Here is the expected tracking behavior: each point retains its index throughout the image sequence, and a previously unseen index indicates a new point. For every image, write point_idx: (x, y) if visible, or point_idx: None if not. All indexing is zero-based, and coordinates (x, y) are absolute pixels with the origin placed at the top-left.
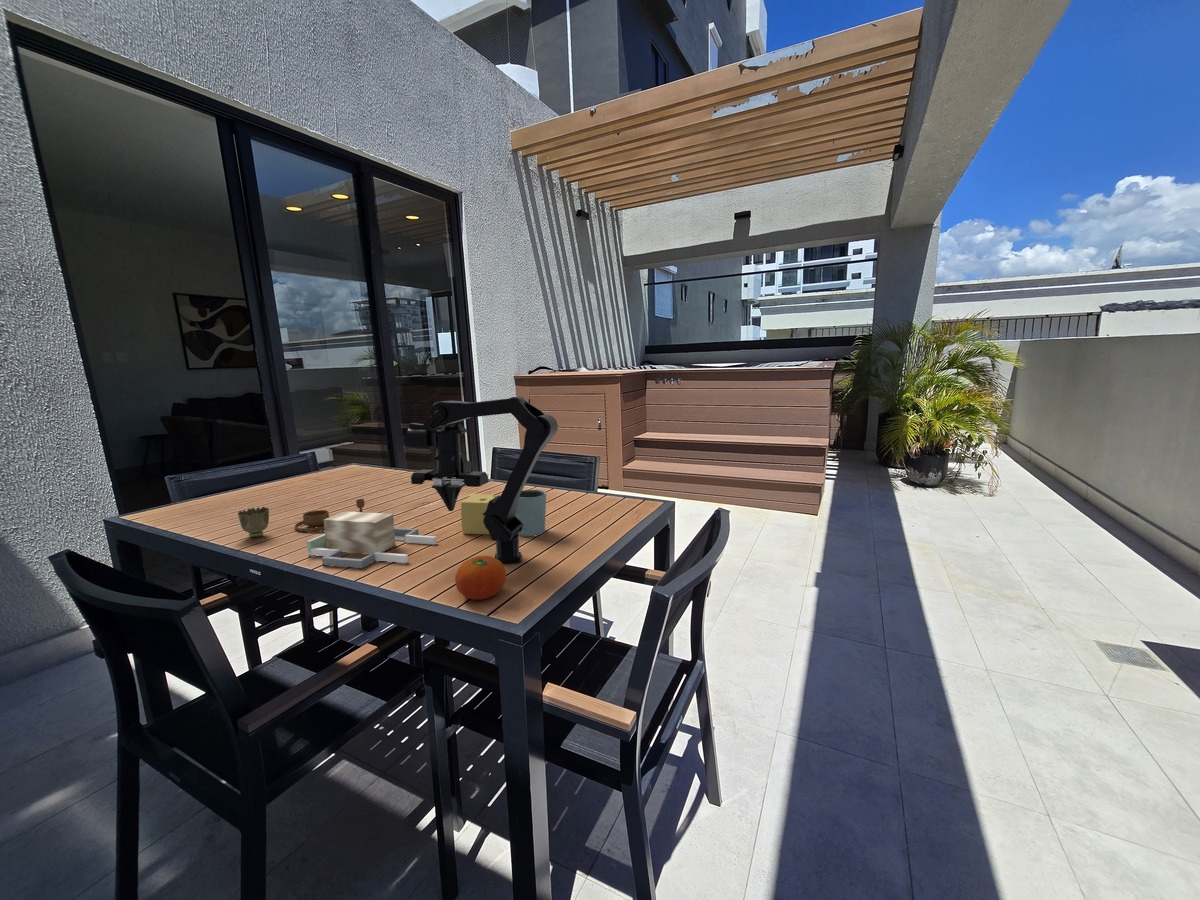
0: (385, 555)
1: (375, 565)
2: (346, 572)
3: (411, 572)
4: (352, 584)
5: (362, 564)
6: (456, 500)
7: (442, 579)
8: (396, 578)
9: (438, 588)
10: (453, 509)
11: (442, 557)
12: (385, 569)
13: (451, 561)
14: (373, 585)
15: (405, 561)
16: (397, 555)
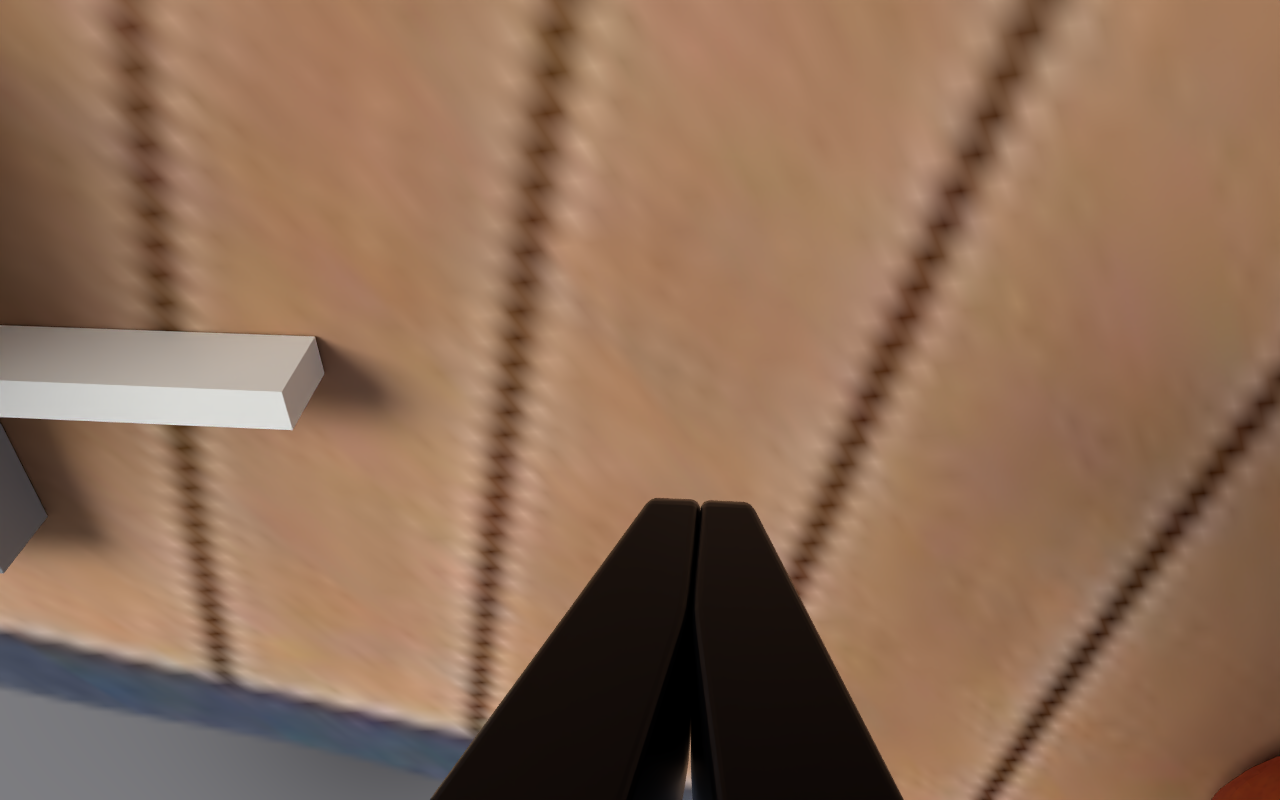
0: (52, 412)
1: (77, 441)
2: (3, 578)
3: (539, 532)
4: (262, 719)
5: (21, 537)
6: (871, 746)
7: (911, 618)
8: (497, 630)
9: (946, 732)
10: (754, 526)
11: (622, 142)
12: (253, 503)
13: (810, 247)
14: (420, 722)
15: (314, 388)
16: (194, 423)
